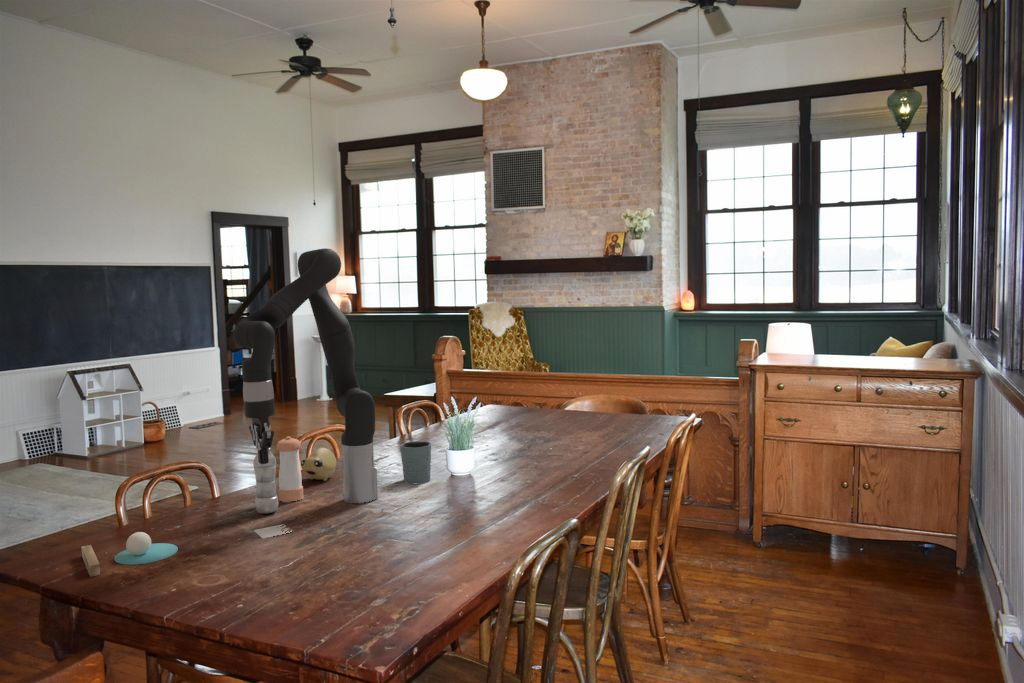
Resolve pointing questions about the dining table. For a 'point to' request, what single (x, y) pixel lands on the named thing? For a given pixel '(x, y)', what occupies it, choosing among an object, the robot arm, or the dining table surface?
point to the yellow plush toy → (319, 464)
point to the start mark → (271, 531)
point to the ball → (138, 543)
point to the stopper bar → (90, 560)
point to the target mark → (147, 554)
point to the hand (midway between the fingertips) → (263, 463)
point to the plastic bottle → (265, 485)
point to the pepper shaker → (289, 470)
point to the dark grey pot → (416, 461)
